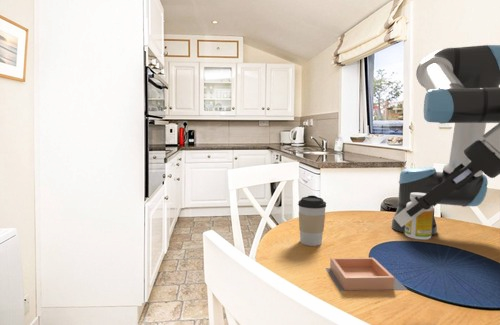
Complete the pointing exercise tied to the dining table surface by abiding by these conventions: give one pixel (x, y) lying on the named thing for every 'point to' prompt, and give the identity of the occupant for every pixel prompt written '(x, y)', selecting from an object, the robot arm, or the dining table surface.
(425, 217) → the supplement bottle
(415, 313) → the dining table surface
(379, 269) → the dish
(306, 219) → the coffee cup
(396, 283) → the mat
